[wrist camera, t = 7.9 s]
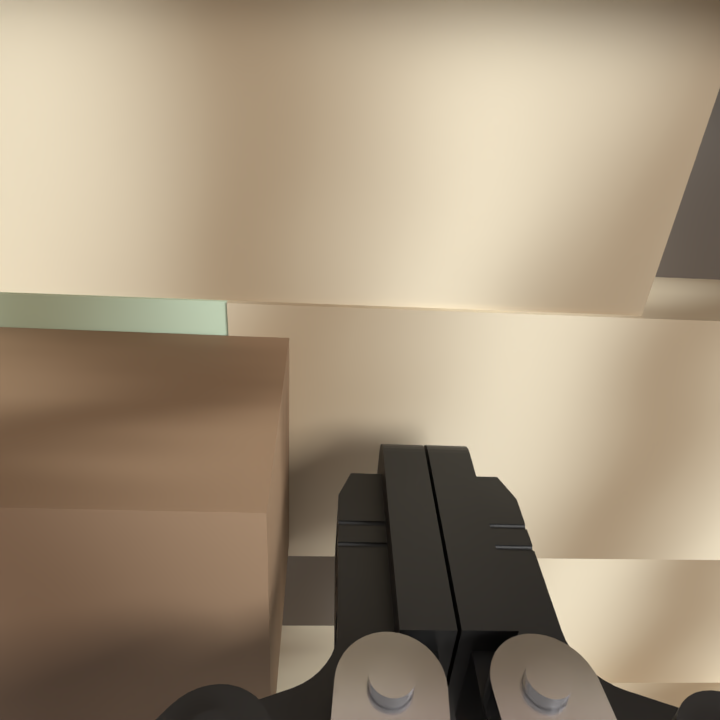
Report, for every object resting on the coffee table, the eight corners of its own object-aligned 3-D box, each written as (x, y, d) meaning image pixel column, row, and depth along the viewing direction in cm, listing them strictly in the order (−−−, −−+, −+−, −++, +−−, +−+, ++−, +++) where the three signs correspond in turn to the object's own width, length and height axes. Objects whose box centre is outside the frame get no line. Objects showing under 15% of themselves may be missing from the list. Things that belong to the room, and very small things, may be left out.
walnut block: (289, 337, 10) (266, 512, 7) (289, 544, 13) (271, 745, 10) (-82, 323, 10) (-301, 501, 7) (-6, 539, 13) (-133, 746, 9)
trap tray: (1322, -58, 10) (1766, -74, 7) (809, 641, 19) (897, 762, 16) (-238, -191, 8) (-568, -290, 5) (46, 640, 18) (-12, 775, 15)
